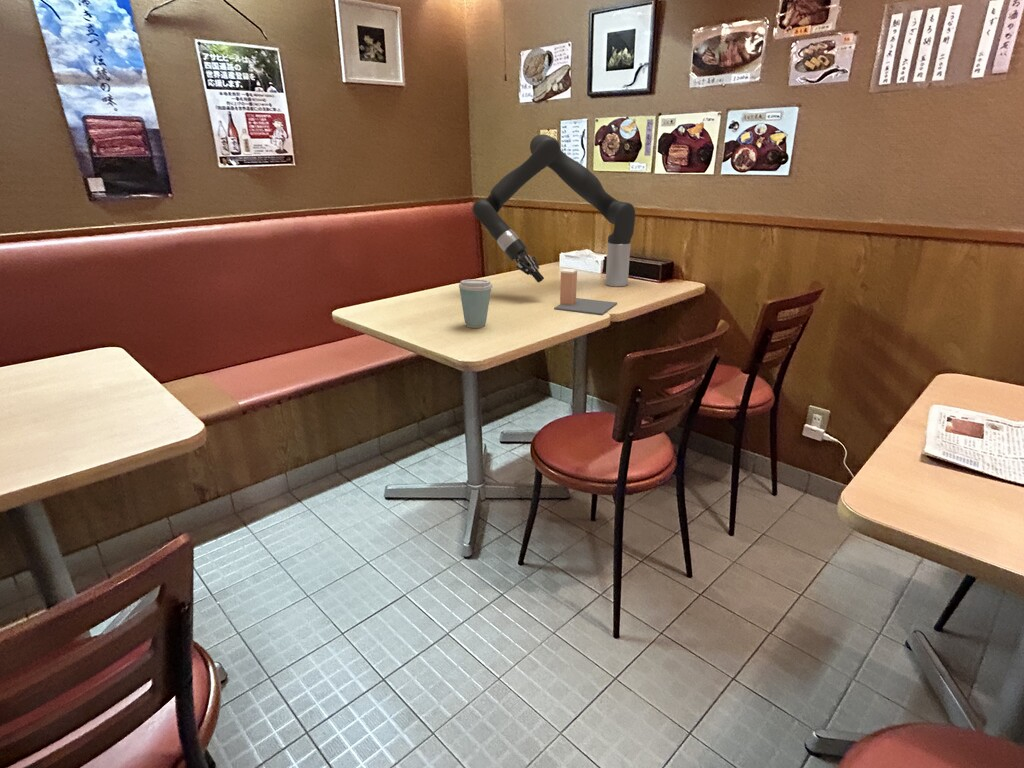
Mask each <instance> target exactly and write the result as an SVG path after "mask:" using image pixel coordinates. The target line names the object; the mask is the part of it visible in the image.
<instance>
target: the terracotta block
mask: <svg viewBox="0 0 1024 768" xmlns="http://www.w3.org/2000/svg"><path fill="white" fill-rule="evenodd" d="M577 279H578V270H577V269H573V268H564V269H562V270H560V290H559V295H560V296H559V305H560V304H567V305H572V304H574V303H576V298H577V286H578V285H577V283H578V280H577Z"/></svg>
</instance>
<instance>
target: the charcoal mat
mask: <svg viewBox="0 0 1024 768" xmlns="http://www.w3.org/2000/svg"><path fill="white" fill-rule="evenodd" d="M617 305H618V302H616V301H608V300H607V301H606V300H598V299H588V298H579V297H576V303H574V304H572V305H567V304H560V303H559V304H558V305H557V306H555V307H554V308H553V310H555V311H564V312H572V313H581V314H589V315H595V316H603V315H605V314H606V313H608V311H610V310H611V309H613V308H614V307H616V306H617Z"/></svg>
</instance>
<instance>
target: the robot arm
mask: <svg viewBox="0 0 1024 768" xmlns="http://www.w3.org/2000/svg"><path fill="white" fill-rule="evenodd" d="M529 151H530V153H531V154H530V156H529V157H528V158H527V159H526V160H525V161H524V162H523V163H522V164H521V165H519V166H517V167H515V168H514V169H513V170H511V171H510V172H508V173H507V174H506V175H505V176H503V178H501V179H500V180H499V181H498V182H497V183H496V184H495V186H493V187H492V189H491V190H490V194H489V195H488V197H486V198H485V199H477V201H475V202H474V204H473V207H472V212H473V213H472V214H473V215H474V216H475V218H476V219H477V220H478V221H479V222H480V223H481V224H482V225H483V226H484V227H485V228H486V230H487V231H488V233H489V234H490V236H492V238H493V239H494V240H495V241H496V243H497V245H498V246H499V248H500V249H501V250H502V251H503V252H504V253H505V255H506V256H507V257H508V259H510V261H512V262H513V261H515V262H516V263H517V264H516V265H515V268H517V269H518V270H519V271H521V272H523V273H524V274H526V275H527V276H529V275H530V276H532V277H533V278H534V280H535V281H536V283H541V282H542V281H544V279H545V278H544V276H543V274H542V273H541V272H540V271H539V269H540V265H539V262H538V261H537V258H536V256H532V257H531V256H530V254H529V253H528V252H527V245H526V244H525V243H524V241H522V239H521V238H520V237H519V236H518V234H516V232H515V231H514V230H513V229H511V227H510V226H509V225H508V223H507V222H506V221H504V219H503V218H502V217H501V216H500V215H499V214H498V213H499V212H500V211H501V209H502V207H504V205H505V204H506V203H507V202H508V201H509V200H510V199H511V198H512V197H513V196H514V195H515V194H516V193H517V192H518V191H519V190H520V189H522V187H524V185H525V184H526V183H528V182H529V181H530V180H531V179H532V178H534V177H535V176H536V175H537V174H538V173H540V172H541V171H543V170H544V169H546V167H548V168H549V169H550V170H552V172H554V173H555V174H556V175H557V176H558V177H559V178H560V179H561V181H563V183H565V184H566V185H567V186H568V187H569V188H570V189H571V190H572V191H573V192H575V193H576V194H577V195H578V196H579V197H581V198H582V199H584V201H586V202H587V203H589V204H590V205H591V206H592V207H594V208H595V209H596V210H597V211H598V212H599V213H600V214H601V216H603V218H604V219H606V220H607V221H608V222H609V223H610V224H611V225H614V226H613V227H614V228H613V232H612V233H611V234H609V235H608V236H607V247H606V248H607V252H606V267H605V268H606V269H605V283H604V284H605V285H607V286H610V287H625V286H628V285H629V284H628V283H629V273H630V272H629V271H630V270H629V269H630V256H631V244H632V243H631V242H632V238H633V235H634V231H635V224H636V223H635V222H636V209H635V207H634V205H633V204H632V203H630V202H627V201H626V202H625V201H622V200H620V201H619V200H618V199H616V198H615V197H613V196H611V195H610V194H609V193H608V192H606V190H605V189H604V187H603V185H602V183H601V180H600V179H598V177H597V176H596V175H595V174H594V173H593V172H591V171H590V170H589V169H588V168H586V167H585V166H584V165H583V164H581V163H580V162H578V161H577V160H575V159H573V158H571V157H569V156H568V154H565V153H564V152H563V151H562V149H561V145H560V142H559V141H558V140H557V139H556V138H555V137H553V136H550V135H547V134H544V133H543V134H542V133H541V134H537V135H535V136H534V137H533V138H532V139H531V140H530V143H529Z"/></svg>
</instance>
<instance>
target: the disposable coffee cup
mask: <svg viewBox="0 0 1024 768" xmlns="http://www.w3.org/2000/svg"><path fill="white" fill-rule="evenodd" d="M458 288H459V293H460V298H461V299H460V300H461V301H460V302H461V306H462V313H463V319H464V320H463V321H464V324H465V326H466V327H467V328H470V329H472V328H473V329H481V328H484V327H485V326H486V324H487V320H488V311H489V305H490V299H491V292H492V288H493V284H492V283H491V281H490V280H487V279H477V278H476V279H474V278H473V279H463V280H460V282H459V284H458Z"/></svg>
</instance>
